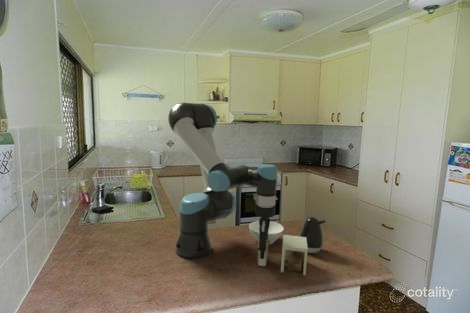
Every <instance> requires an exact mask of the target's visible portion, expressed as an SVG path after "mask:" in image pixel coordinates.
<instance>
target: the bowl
mask: <svg viewBox="0 0 470 313" xmlns="http://www.w3.org/2000/svg"><path fill="white" fill-rule="evenodd" d="M259 227H260V225H259V220H256V221H252V222H251V223H250V224H248V229H249V232H250V234H251V235H252V236H253V238H255V240H256V242H258V240H259V236H260V231H259ZM284 230H285V228H284V226H283V225H282V224H280V223H278V222H275V221H271V220H270V225H269V230H268V241H269V243H268V246H269V245H273V244H274V243H275V242H276V241H277V240H278V239H279V238H280V237H282V236H283V233H284Z"/></svg>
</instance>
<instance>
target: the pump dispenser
mask: <svg viewBox="0 0 470 313" xmlns="http://www.w3.org/2000/svg"><path fill="white" fill-rule="evenodd" d="M325 223H326V220H325V219H323V220H318V218H316V217H315V216H310V217H309V216H308V218H306V220H305V221H304V223H303V224H302V227H301V228H300V229H301V230H300V231H299V237H306V240H307V248H308V251H307V254H316V253H319V252H320V250H322V247H323V245H324V235H323V234H324V233H323V229H322V226H321V225H322V224H325Z"/></svg>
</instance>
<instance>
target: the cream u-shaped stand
mask: <svg viewBox="0 0 470 313" xmlns="http://www.w3.org/2000/svg"><path fill="white" fill-rule="evenodd" d="M299 236H300V235H299ZM299 236H296V235H289V234H282V249H281V259H282V261H281V262H280V263H281V264H280V273H285V271H284V270H285V262H284V259H287V260H288V254H289V251H292V252H300V253H302V275H303V276H306V275H307V263H308V262H307V261H308V253H307V251H308V248H307V240H306V237H299Z"/></svg>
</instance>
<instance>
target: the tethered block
mask: <svg viewBox="0 0 470 313" xmlns="http://www.w3.org/2000/svg"><path fill="white" fill-rule="evenodd" d="M257 248H259V240H258V241H257ZM268 255H269V245H268V240H266V265H267V264H268V261H270V262H280V263H281V261H282V258H277V257H272V256H271V257H270V256H268ZM256 256H257V257H256V263H257V264H258V262H259V250H257V255H256ZM284 264H287V270H290V271H296V272H302V268H303V263H302V253H300V252H292V251H289V254H288V260H287V259H284Z"/></svg>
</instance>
